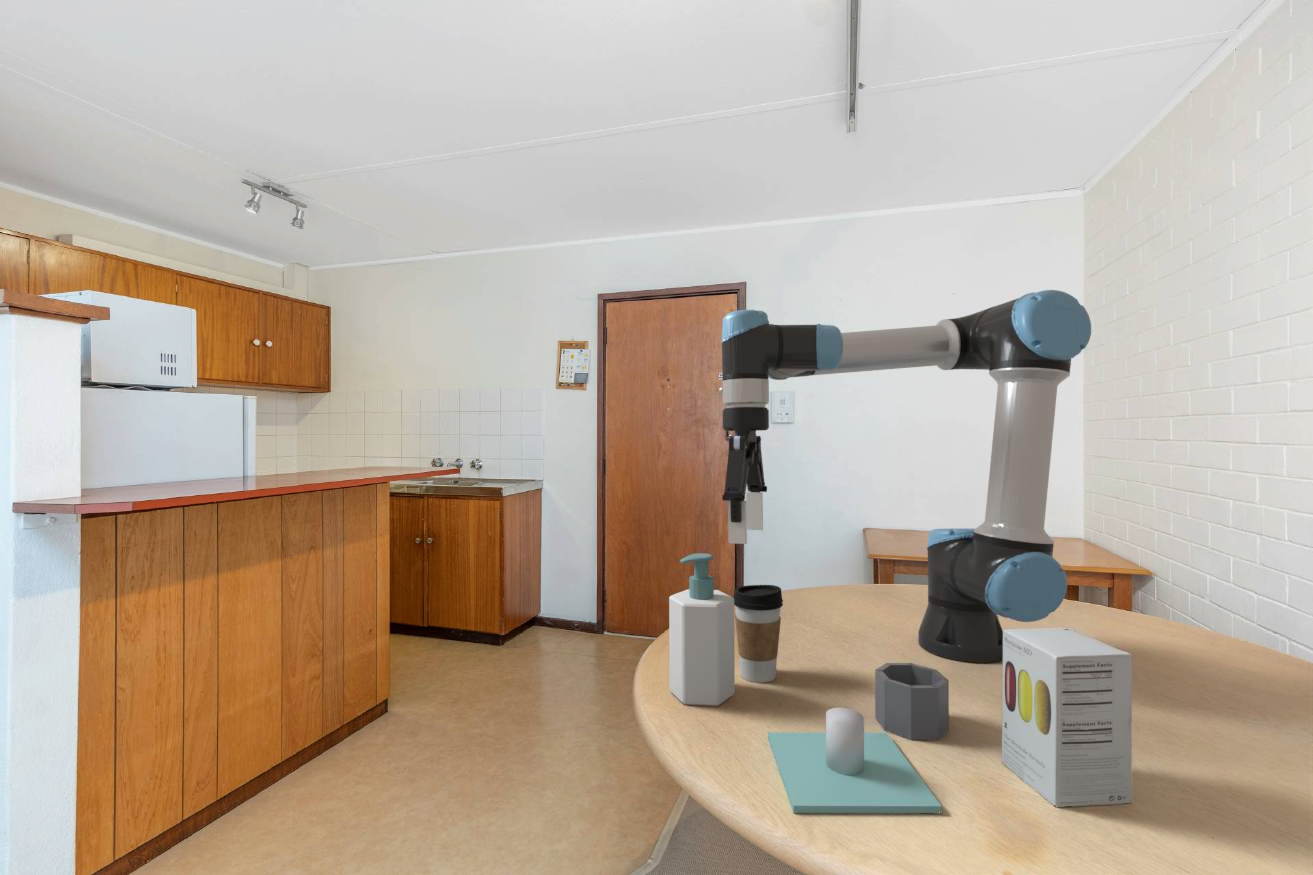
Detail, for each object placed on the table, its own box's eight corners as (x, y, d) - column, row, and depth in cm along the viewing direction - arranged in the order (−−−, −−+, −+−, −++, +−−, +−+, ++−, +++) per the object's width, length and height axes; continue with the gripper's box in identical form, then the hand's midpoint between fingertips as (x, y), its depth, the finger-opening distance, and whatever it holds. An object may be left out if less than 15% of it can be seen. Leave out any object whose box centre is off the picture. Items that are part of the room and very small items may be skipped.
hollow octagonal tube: (928, 709, 89) (928, 662, 89) (958, 740, 80) (957, 687, 80) (869, 709, 89) (869, 662, 89) (891, 739, 80) (891, 687, 80)
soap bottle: (662, 685, 97) (662, 551, 97) (711, 676, 101) (711, 547, 101) (690, 712, 88) (690, 563, 88) (743, 701, 92) (743, 558, 92)
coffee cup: (783, 687, 96) (783, 595, 96) (731, 683, 98) (730, 593, 98) (783, 668, 105) (782, 583, 105) (734, 664, 106) (734, 580, 106)
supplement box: (999, 761, 74) (998, 627, 74) (1068, 758, 75) (1067, 625, 75) (1057, 809, 65) (1056, 655, 65) (1135, 805, 66) (1135, 652, 66)
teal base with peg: (886, 738, 80) (886, 687, 80) (941, 813, 64) (941, 750, 64) (767, 738, 80) (767, 687, 80) (793, 812, 64) (793, 750, 64)
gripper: (739, 410, 111) (740, 524, 111) (702, 403, 87) (703, 548, 87) (780, 409, 108) (781, 525, 108) (753, 402, 85) (754, 551, 85)
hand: (746, 536), depth 98 cm, fingers open, 13 cm apart
